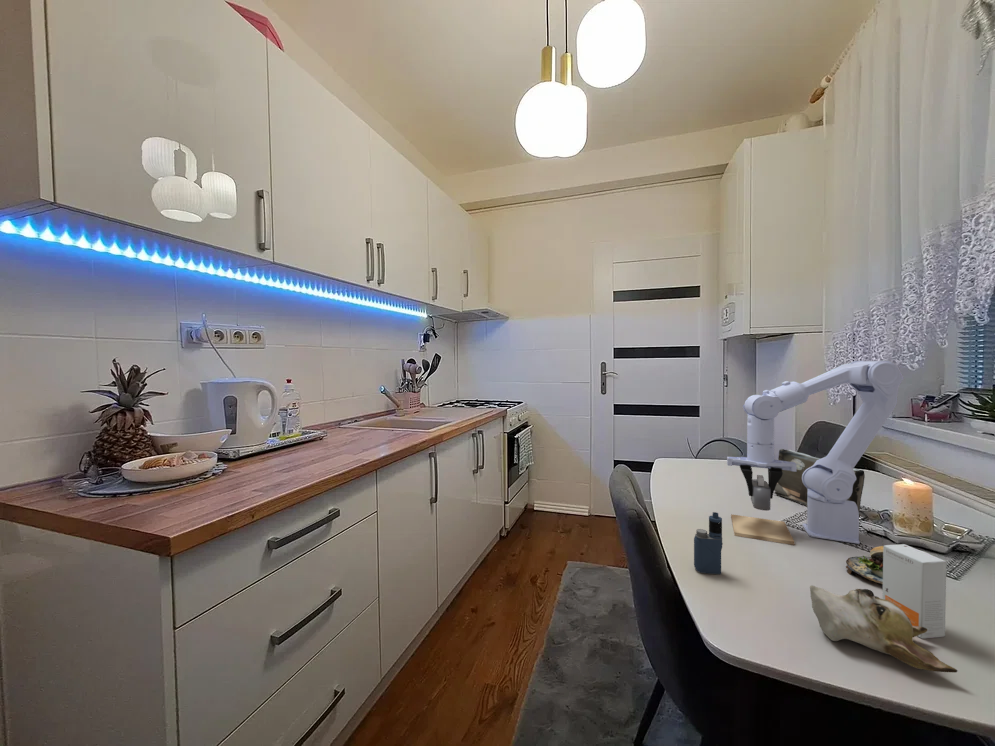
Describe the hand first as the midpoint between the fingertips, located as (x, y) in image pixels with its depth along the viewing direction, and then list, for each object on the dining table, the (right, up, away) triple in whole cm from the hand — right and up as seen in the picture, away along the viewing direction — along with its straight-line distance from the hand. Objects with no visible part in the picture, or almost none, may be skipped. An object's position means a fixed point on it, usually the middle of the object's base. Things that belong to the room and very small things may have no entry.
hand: (760, 496), depth 101 cm
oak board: (0, -9, 0) cm, 9 cm away
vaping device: (-23, -10, -19) cm, 32 cm away
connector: (0, -2, 0) cm, 2 cm away
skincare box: (0, -10, -37) cm, 38 cm away
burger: (+10, -10, -23) cm, 26 cm away
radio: (+28, -8, +17) cm, 34 cm away
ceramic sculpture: (-10, -10, -41) cm, 44 cm away
